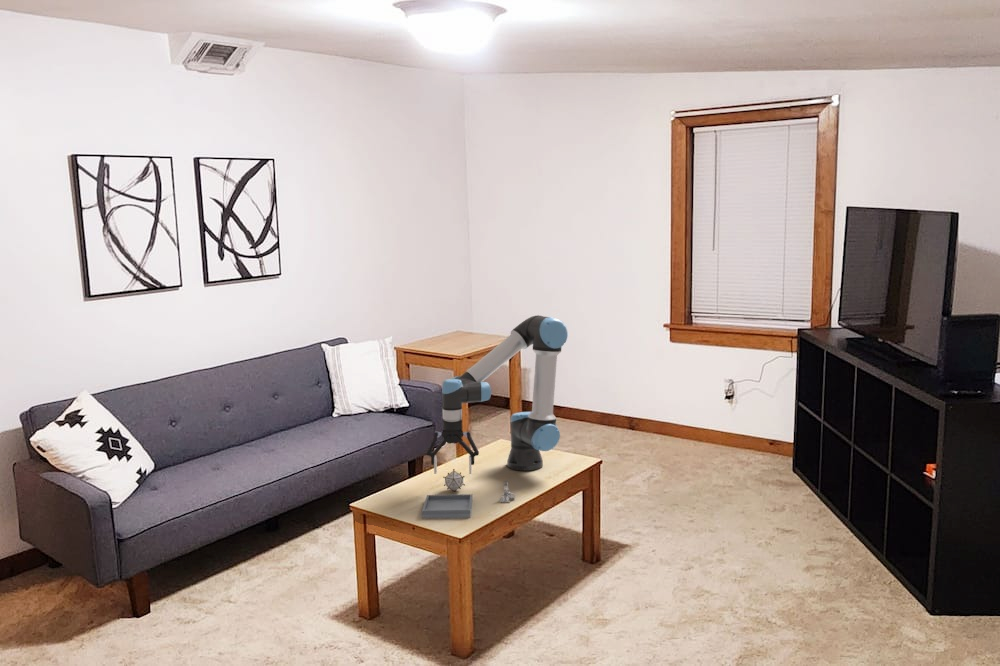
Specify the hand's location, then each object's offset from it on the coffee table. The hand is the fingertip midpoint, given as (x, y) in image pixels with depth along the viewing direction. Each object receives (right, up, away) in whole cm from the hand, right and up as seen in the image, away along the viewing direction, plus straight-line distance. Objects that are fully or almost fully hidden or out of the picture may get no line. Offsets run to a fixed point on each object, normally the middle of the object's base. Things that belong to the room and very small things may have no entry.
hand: (452, 472), depth 322 cm
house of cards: (+23, -10, -10) cm, 27 cm away
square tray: (-1, -11, -18) cm, 21 cm away
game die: (+1, -8, +1) cm, 9 cm away
